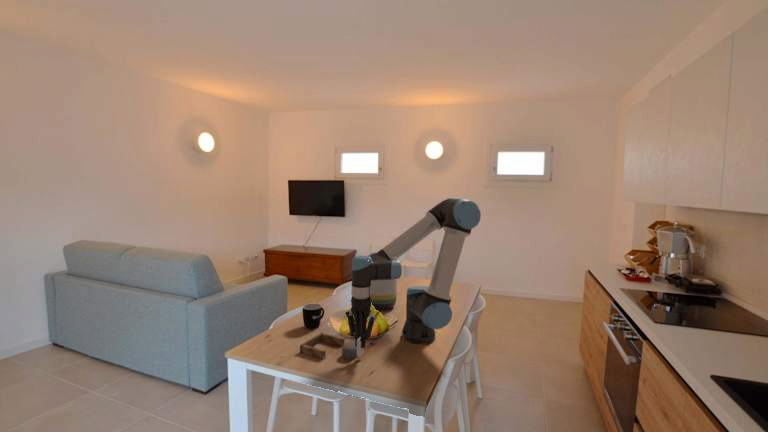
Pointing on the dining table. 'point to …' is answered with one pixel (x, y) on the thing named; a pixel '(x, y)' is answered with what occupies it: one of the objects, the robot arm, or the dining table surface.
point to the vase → (383, 293)
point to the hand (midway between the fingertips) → (360, 355)
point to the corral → (308, 345)
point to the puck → (349, 352)
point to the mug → (312, 315)
